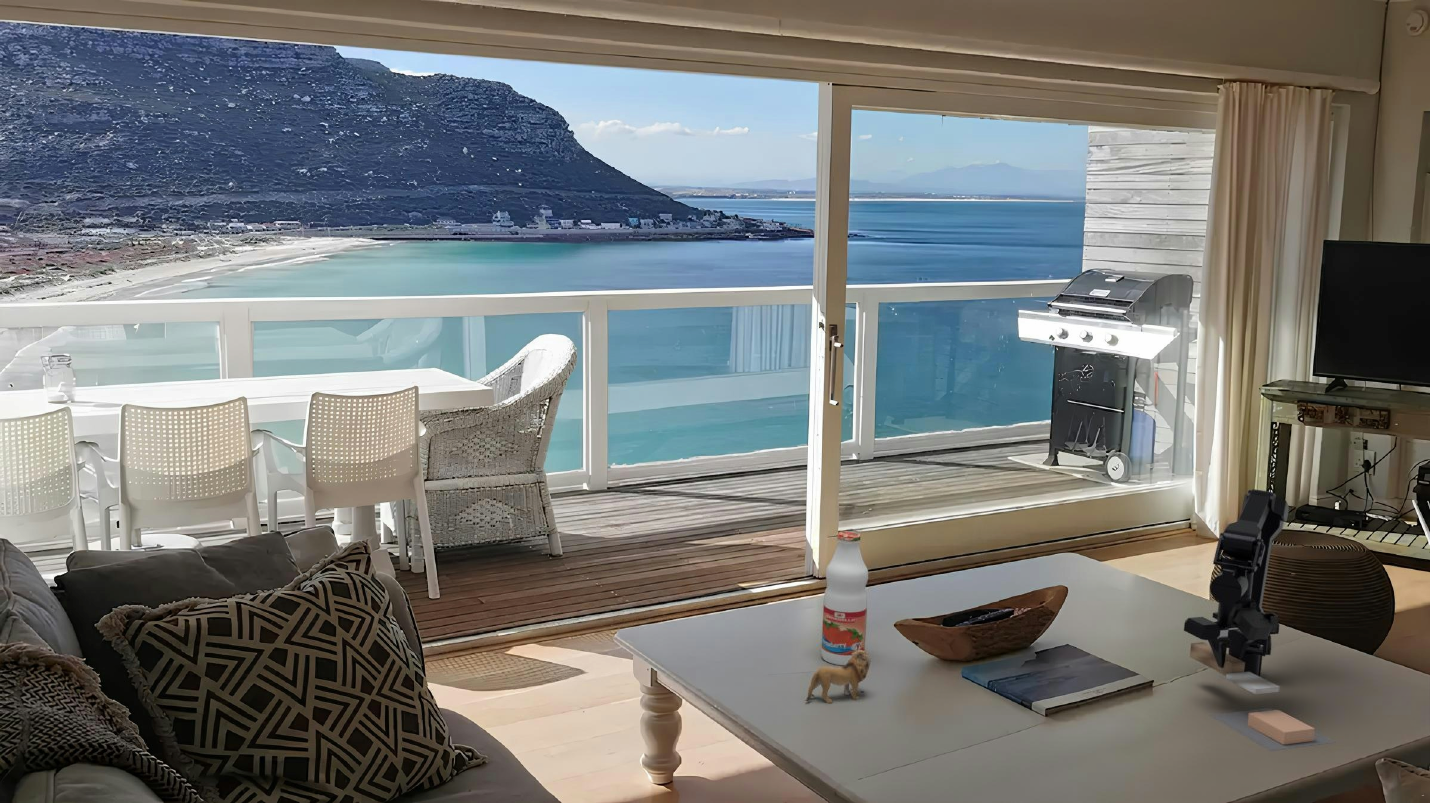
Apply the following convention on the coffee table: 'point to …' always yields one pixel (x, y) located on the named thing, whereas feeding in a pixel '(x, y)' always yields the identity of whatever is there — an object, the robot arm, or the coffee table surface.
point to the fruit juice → (845, 601)
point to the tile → (1281, 727)
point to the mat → (1240, 725)
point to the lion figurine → (842, 676)
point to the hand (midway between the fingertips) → (1227, 666)
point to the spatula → (1232, 670)
